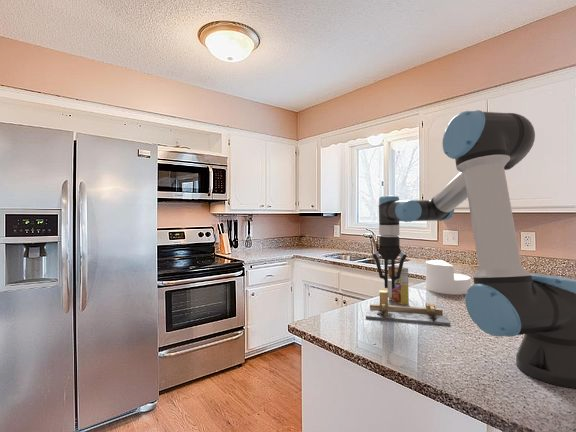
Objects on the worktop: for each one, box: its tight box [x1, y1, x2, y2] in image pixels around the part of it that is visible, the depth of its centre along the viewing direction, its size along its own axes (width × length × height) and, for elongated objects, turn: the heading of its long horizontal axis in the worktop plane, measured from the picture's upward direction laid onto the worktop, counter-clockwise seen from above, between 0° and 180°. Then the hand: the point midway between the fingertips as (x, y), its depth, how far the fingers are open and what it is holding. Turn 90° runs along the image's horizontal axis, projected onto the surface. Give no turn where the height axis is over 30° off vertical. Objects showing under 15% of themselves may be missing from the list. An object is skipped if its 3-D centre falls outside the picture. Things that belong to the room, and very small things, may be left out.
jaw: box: [379, 289, 389, 314], centre depth 125 cm, size 9×3×8 cm, turn 163°
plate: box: [365, 309, 451, 327], centre depth 119 cm, size 8×28×1 cm, turn 73°
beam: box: [369, 302, 444, 317], centre depth 122 cm, size 9×26×4 cm, turn 73°
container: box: [425, 259, 472, 295], centre depth 163 cm, size 20×20×13 cm
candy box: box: [388, 264, 410, 306], centre depth 141 cm, size 9×4×15 cm, turn 17°
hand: (389, 296), depth 127 cm, fingers closed
